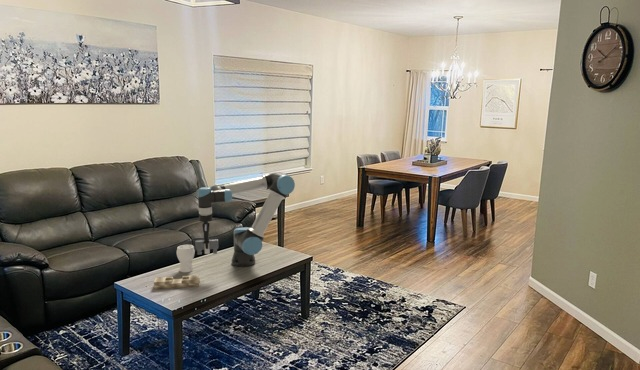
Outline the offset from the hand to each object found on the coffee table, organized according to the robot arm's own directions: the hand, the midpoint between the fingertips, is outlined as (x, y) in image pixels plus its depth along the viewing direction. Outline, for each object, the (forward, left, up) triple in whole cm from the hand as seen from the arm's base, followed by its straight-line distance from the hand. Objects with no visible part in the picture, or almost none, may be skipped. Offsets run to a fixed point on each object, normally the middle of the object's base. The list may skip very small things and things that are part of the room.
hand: (207, 252), depth 272 cm
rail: (+16, +12, -14) cm, 25 cm away
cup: (+13, -12, -15) cm, 23 cm away
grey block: (0, 0, -1) cm, 1 cm away
